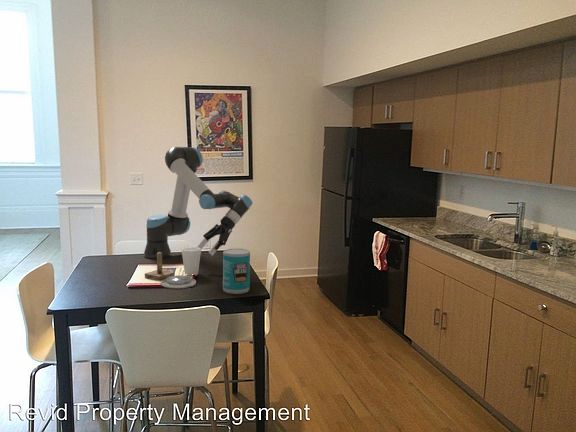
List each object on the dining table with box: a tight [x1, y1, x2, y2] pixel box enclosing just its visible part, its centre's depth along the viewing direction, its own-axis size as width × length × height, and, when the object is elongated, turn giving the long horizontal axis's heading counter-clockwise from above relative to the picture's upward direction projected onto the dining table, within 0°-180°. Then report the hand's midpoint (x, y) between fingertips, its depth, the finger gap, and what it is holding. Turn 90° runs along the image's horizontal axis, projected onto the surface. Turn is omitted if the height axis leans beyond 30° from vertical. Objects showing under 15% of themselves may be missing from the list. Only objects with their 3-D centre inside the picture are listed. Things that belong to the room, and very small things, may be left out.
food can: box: [222, 248, 251, 295], centre depth 215 cm, size 12×12×18 cm
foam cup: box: [181, 246, 202, 276], centre depth 240 cm, size 10×9×13 cm
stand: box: [144, 252, 176, 282], centre depth 233 cm, size 10×10×12 cm
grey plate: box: [160, 275, 197, 290], centre depth 223 cm, size 16×16×2 cm
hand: (204, 251), depth 242 cm, fingers open, 13 cm apart
